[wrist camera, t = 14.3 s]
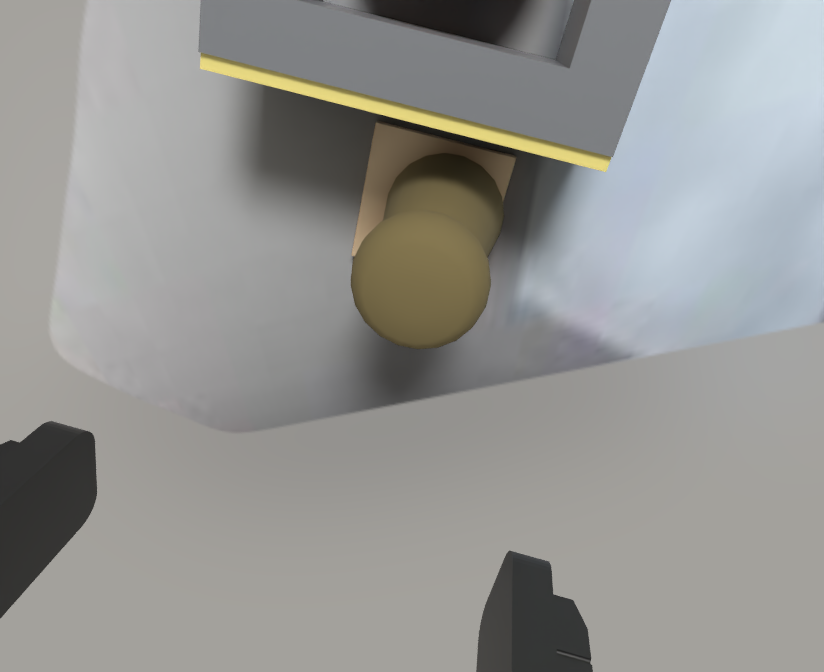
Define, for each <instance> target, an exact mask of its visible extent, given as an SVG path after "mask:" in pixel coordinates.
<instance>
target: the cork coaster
mask: <svg viewBox="0 0 824 672" xmlns="http://www.w3.org/2000/svg"><path fill="white" fill-rule="evenodd" d="M441 153H449V154H454V155H460V156H465V157H466V158H468V159H470V160H472V161H474V162H475V163H477V164H479V165H481V166H482V167H483V168H484V169H485V170H486V171H487V172H488V173H489V175H490V176H491V177H492V178H493V179H494V180H495V182H496V185H497V187H498V189H499V191H500V193H501V196H502V200H503V201H504V198H505V194H506V191H507V187H508V184H509V181H510V177H511V174H512V171H513V167H514V164H515V161H516V156H514V155H510V154H506V153H502V152H498V151H494V150H490V149H487V148H483V147H479V146H475V145H471V144H467V143H463V142H459V141H455V140H451V139H447V138H443V137H440V136H436V135H432V134H428V133H424V132H420V131H416V130H412V129H408V128H404V127H400V126H396V125H393V124H389V123H385V122H381V121H377V122H376V123H375V128H374V134H373V139H372V145H371V150H370V156H369V162H368V167H367V173H366V178H365V184H364V189H363V195H362V200H361V206H360V211H359V217H358V222H357V228H356V233H355V239H354V244H353V250H352V255H351V256H355V255H356V253H357V251H358V249H359V247H360V245H361V242H362V241H363V239H364V238H365V237H366V236H367V235H368V234H369V233H370V232H371V231H372V230H373V229H374V228H375V227H376V226H377V225H378V224H379V223H380V222H381V221H383V217H384V212H385V207H386V202H387V197H388V193H389V191H390V189H391V187H392V185H393V183H394V181H395V179H396V177H397V176H398V175H399V174H400V173H401V172H402V171H403V170H404V169H405V168H406V167H407V166H408V165H409V164H410V163H412V162H414V161H416V160H418V159H420V158H422V157H424V156H427V155H434V154H441Z"/></svg>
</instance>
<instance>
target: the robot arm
mask: <svg viewBox="0 0 824 672" xmlns="http://www.w3.org/2000/svg"><path fill="white" fill-rule="evenodd" d="M95 458H96V457H95V439H94V436H93V434H92V433H91V432H88V431H85V430H81V429H78V428H74V427H71V426H67V425H63V424H60V423H56V422H53V421H50V422H46V423H44V424H42V425H41V426H40V427H38V428H37V429H36V430H35V431H33V432H32V433H31V434H30V435H29V436H27V437H26V438H25V439H24V440H23V441H21V442H20V443H19V442H15V441H12V440H10V441H8V442H5V443H3V444H1V445H0V618H1V617H2V616H3V615H4V614H5V613H6V611H7V610H8V609H9V608H10V607H11V605H13V604H14V602H15V601H16V600H17V599H18V598H19V597H20V596H21V595H22V593H23V592H24V591H25V590H26V589H27V588H28V587H29V585H30V584H31V583H32V582H33V581H34V580H35V578H36V577H37V576H38V575H39V574H40V573H41V572H42V571H43V570H44V568H45V567H46V566H47V565H48V564H49V563H50V562H51V561H52V559H53V558H54V557H55V556H56V555H57V554H58V553H59V551H60V550H61V549H62V548H63V547H64V546H65V545H66V544H67V542H68V541H69V540H70V539H71V538H72V537H73V536H74V535H75V533H76V532H77V531H78V530H79V529H80V528H81V527H82V525H83V524H84V523H85V522H86V520H87V518H88V517H89V515H90V513H91V511H92V509H93V507H94V503H95V500H96V496H97V481H96V459H95ZM478 641H479V642H478V655H477V672H593V670H592V665H591V664H590V661H591V653H590V645H589V637H588V629H587V627H586V625H585V623H584V621H583V619H582V617H581V615H580V613H579V611H578V609H577V607H576V605H575V603H574V601H573V600H571V599H567V598H564V597H560V596H557V595H553V587H552V571H551V565H550V563H549V562H548V561H545V560H541V559H537V558H534V557H530V556H527V555H523V554H519V553H516V552H512V551H509V552H508V553H507V554H506V556H505V558H504V561H503V564H502V566H501V568H500V571H499V573H498V575H497V578H496V580H495V583H494V586H493V588H492V590H491V593H490V595H489V597H488V600H487V602H486V605H485V608H484V611H483V616H482V620H481V625H480V631H479V640H478Z"/></svg>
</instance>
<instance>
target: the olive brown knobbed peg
mask: <svg viewBox="0 0 824 672" xmlns="http://www.w3.org/2000/svg"><path fill="white" fill-rule="evenodd" d="M503 218H504V210H503V200H502V196H501V193H500V191H499V189H498V187H497V185H496V182H495V180H494V179H493V178H492V177H491V176H490V175H489V173H488V172H487V171H486V170H485V169H484V168H483V167H482V166H481V165H479V164H477V163H475V162H474V161H472V160H470V159H468V158H466V157H465V156H460V155H454V154H449V153H441V154H434V155H427V156H424V157H422V158H420V159H418V160H416V161H414V162H412V163H410V164H409V165H408V166H407V167H406V168H405V169H404V170H403V171H402V172H401V173H400V174H399V175H398V176H397V177H396V179H395V181H394V183H393V185H392V187H391V189H390V191H389V193H388V197H387V202H386V207H385V212H384V217H383V221H381V222H380V223H379V224H378V225H377V226H376V227H375V228H374V229H373V230H372V231H371V232H370V233H369V234H368V235H367V236H366V237H365V238H364V239H363V241H362V242H361V245H360V247H359V249H358V251H357V253H356V255H355V257H354V259H353V265H352V274H351V288H352V293H353V297H354V302H355V305H356V307H357V309H358V311H359V312H360V314H361V316H362V317H363V319H364V321H365V322H366V323H367V324H368V325H369V326H370V327H371V328H372V329H373V330H374V331H375V332H376V333H377V334H378V335H379V336H381V337H383V338H385V339H387V340H389V341H391V342H393V343H395V344H397V345H400V346H405V347H409V348H414V349H427V348H438V347H441V346H443V345H446V344H448V343H451V342H454V341H456V340H457V339H459V338H460V337H461V336H462V335H464V334H465V333H466V332H467V331H469V330H470V329H471V328H472V327H473V326H474V325H475V323H476V322H477V320H478V318H479V317H480V315H481V314H482V312H483V311H484V309H485V307H486V304H487V300H488V295H489V291H490V287H491V279H490V270H489V262H488V258H487V257H488V256H489V254H490V252H491V250H492V248H493V246H494V244H495V242H496V240H497V238H498V237H499V235H500V231H501V227H502V223H503Z"/></svg>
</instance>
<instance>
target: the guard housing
mask: <svg viewBox="0 0 824 672" xmlns="http://www.w3.org/2000/svg"><path fill="white" fill-rule="evenodd" d="M670 2H671V0H574V2H573V6H572V9H571V12H570V15H569V19H568V22H567V25H566V29H565V32H564V35H563V38H562V42H561V45H560V48H559V52H558V55H557V58H556V60H554V59H550V58H546V57H542V56H538V55H534V54H530V53H526V52H522V51H518V50H514V49H510V48H506V47H502V46H498V45H494V44H490V43H486V42H482V41H478V40H474V39H470V38H466V37H462V36H458V35H454V34H450V33H446V32H442V31H438V30H435V29H431V28H427V27H423V26H419V25H415V24H411V23H407V22H403V21H399V20H395V19H391V18H387V17H383V16H379V15H375V14H371V13H367V12H363V11H359V10H355V9H351V8H347V7H343V6H339V5H335V4H331V3H327V2H323V0H201V7H200V30H199V52H201V61H200V69H204V70H208V71H212V72H216V73H220V74H224V75H227V76H231V77H235V78H239V79H243V80H247V81H251V82H255V83H259V84H263V85H267V86H271V87H275V88H278V89H282V90H286V91H290V92H294V93H298V94H302V95H306V96H310V97H314V98H318V99H322V100H326V101H329V102H333V103H337V104H341V105H345V106H349V107H353V108H357V109H361V110H365V111H369V112H373V113H376V114H380V115H384V116H388V117H392V118H396V119H400V120H404V121H408V122H412V123H416V124H420V125H424V126H427V127H431V128H435V129H439V130H443V131H447V132H451V133H455V134H459V135H463V136H467V137H471V138H475V139H478V140H482V141H486V142H490V143H494V144H498V145H502V146H506V147H510V148H514V149H518V150H522V151H525V152H529V153H533V154H537V155H541V156H545V157H549V158H553V159H557V160H561V161H565V162H569V163H573V164H576V165H580V166H584V167H588V168H592V169H596V170H600V171H604V172H606V171H607V168H608V165H609V163H610V160H611V157H613V155H614V152H615V150H616V147H617V144H618V142H619V139H620V136H621V133H622V131H623V128H624V125H625V123H626V120H627V117H628V115H629V112H630V109H631V107H632V104H633V101H634V99H635V96H636V93H637V90H638V88H639V85H640V82H641V80H642V77H643V74H644V72H645V69H646V66H647V64H648V61H649V58H650V56H651V53H652V50H653V47H654V45H655V42H656V39H657V37H658V34H659V31H660V29H661V26H662V23H663V21H664V18H665V15H666V13H667V10H668V7H669V4H670Z"/></svg>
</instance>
